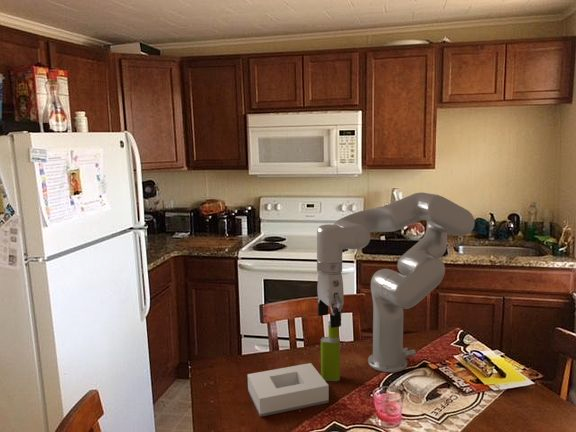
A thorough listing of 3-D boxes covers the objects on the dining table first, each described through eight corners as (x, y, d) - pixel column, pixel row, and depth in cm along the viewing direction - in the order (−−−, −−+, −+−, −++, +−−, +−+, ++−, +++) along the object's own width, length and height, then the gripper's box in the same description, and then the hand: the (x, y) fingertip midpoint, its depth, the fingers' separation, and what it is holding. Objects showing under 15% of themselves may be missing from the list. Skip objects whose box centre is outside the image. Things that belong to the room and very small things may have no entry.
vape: (340, 381, 147) (340, 319, 144) (320, 380, 148) (320, 318, 145) (340, 375, 151) (340, 314, 147) (321, 374, 152) (321, 314, 148)
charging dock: (311, 378, 149) (310, 363, 148) (328, 402, 136) (328, 385, 135) (248, 390, 143) (247, 374, 142) (260, 416, 130) (259, 398, 129)
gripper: (353, 272, 136) (352, 330, 139) (329, 258, 152) (329, 309, 155) (329, 275, 134) (328, 333, 137) (307, 260, 150) (307, 312, 153)
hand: (329, 320), depth 146 cm, fingers open, 9 cm apart
